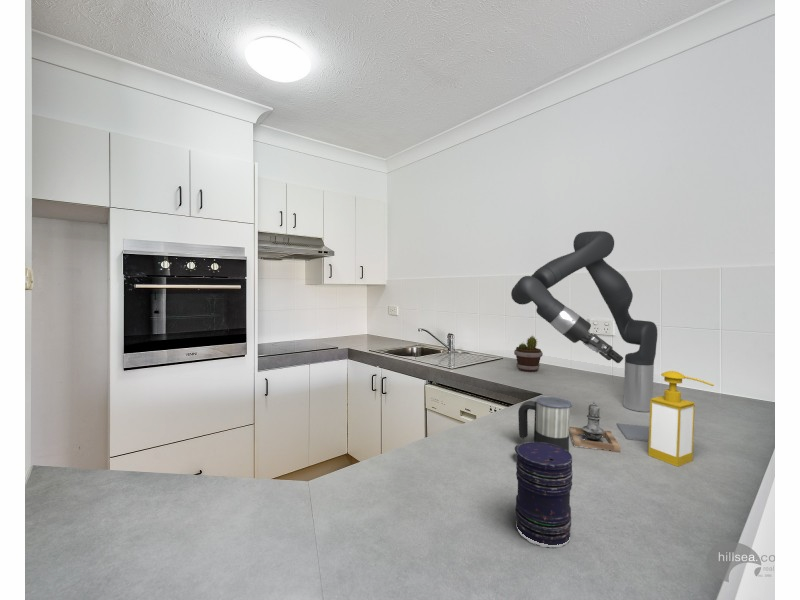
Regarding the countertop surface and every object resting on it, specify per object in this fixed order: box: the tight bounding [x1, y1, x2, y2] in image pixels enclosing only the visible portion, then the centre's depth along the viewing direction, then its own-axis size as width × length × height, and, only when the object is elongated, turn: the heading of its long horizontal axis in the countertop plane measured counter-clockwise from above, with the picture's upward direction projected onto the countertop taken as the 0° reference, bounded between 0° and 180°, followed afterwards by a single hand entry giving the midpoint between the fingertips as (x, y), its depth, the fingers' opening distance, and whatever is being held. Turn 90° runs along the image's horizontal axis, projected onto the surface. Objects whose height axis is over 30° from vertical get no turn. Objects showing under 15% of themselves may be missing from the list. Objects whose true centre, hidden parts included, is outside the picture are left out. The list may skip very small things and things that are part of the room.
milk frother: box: [514, 395, 573, 454], centre depth 101 cm, size 14×16×15 cm
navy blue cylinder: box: [514, 441, 573, 545], centre depth 71 cm, size 10×10×15 cm
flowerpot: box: [514, 334, 543, 373], centre depth 205 cm, size 14×15×20 cm
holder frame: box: [569, 426, 622, 453], centre depth 112 cm, size 12×12×2 cm
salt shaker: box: [581, 401, 606, 442], centre depth 112 cm, size 6×6×12 cm
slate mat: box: [616, 422, 649, 442], centre depth 118 cm, size 12×12×1 cm
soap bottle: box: [647, 370, 715, 467], centre depth 98 cm, size 7×13×24 cm, turn 27°
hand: (616, 359), depth 111 cm, fingers open, 8 cm apart
